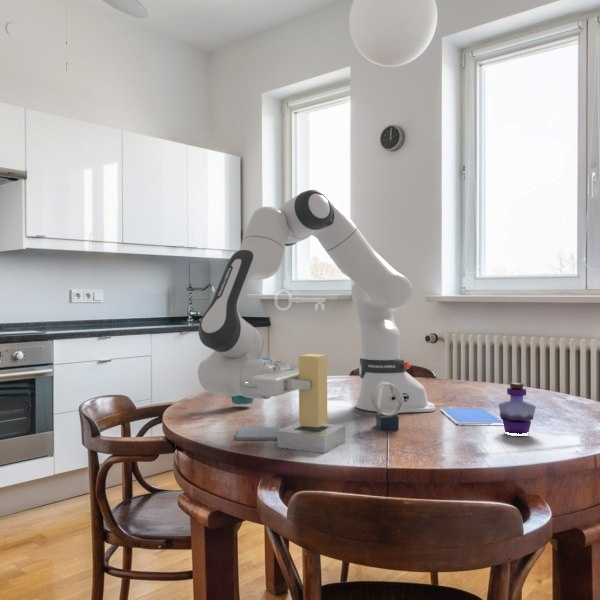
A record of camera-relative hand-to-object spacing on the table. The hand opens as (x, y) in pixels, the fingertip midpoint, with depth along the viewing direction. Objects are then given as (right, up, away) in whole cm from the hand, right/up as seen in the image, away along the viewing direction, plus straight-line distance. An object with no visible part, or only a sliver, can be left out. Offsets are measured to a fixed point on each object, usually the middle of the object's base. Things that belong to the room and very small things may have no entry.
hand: (316, 382), depth 125 cm
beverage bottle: (-20, -13, +42) cm, 49 cm away
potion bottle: (+47, -14, +10) cm, 50 cm away
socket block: (-1, -13, 0) cm, 13 cm away
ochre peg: (-1, -9, +1) cm, 9 cm away
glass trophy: (+18, -14, +17) cm, 28 cm away
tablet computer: (+42, -14, +29) cm, 53 cm away
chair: (-16, -13, +68) cm, 71 cm away
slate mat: (-13, -13, +9) cm, 21 cm away
